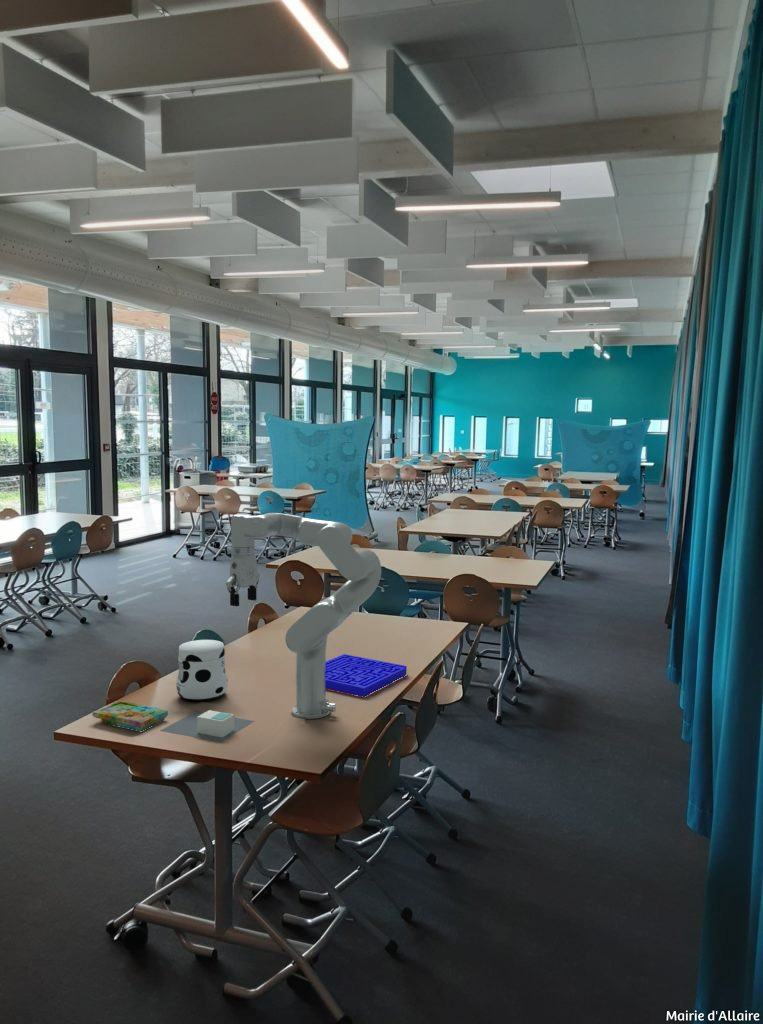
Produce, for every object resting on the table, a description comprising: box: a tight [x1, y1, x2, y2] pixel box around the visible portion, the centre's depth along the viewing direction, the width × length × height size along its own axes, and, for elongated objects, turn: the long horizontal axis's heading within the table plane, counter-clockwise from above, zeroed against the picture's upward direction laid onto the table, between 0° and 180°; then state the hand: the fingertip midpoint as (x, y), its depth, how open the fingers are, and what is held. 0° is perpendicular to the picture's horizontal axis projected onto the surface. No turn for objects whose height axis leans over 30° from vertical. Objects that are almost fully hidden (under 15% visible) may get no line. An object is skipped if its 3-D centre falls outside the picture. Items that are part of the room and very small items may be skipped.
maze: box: [325, 653, 408, 698], centre depth 279 cm, size 30×30×4 cm
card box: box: [197, 709, 235, 738], centre depth 226 cm, size 9×6×5 cm, turn 67°
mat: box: [160, 710, 255, 743], centre depth 231 cm, size 22×18×1 cm
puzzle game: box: [92, 700, 169, 732], centre depth 235 cm, size 12×5×20 cm
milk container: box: [175, 639, 229, 702], centre depth 259 cm, size 17×17×18 cm
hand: (243, 602), depth 248 cm, fingers open, 9 cm apart
